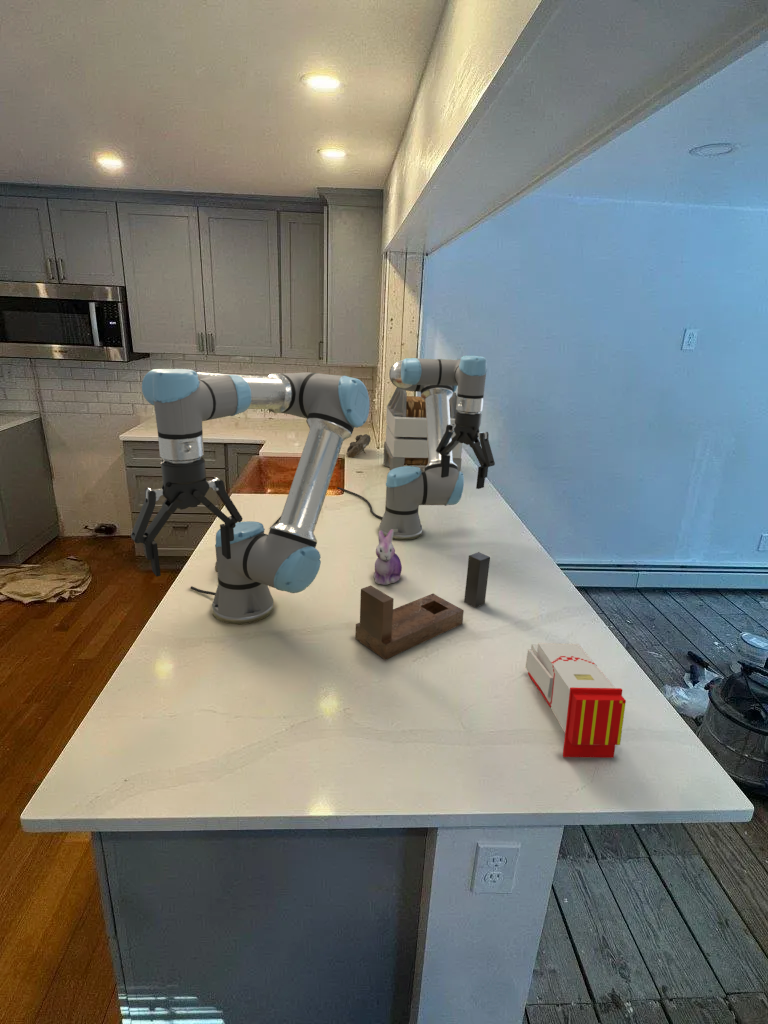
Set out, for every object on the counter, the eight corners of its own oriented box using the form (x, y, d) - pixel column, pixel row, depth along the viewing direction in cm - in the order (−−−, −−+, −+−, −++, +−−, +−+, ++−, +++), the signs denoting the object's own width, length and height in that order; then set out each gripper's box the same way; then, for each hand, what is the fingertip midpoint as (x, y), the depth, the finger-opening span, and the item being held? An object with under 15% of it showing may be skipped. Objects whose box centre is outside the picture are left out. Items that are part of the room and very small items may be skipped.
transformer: (382, 463, 289) (386, 382, 275) (445, 464, 293) (451, 384, 279) (390, 482, 257) (394, 392, 243) (460, 483, 261) (468, 394, 247)
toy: (573, 626, 127) (635, 696, 97) (567, 680, 129) (626, 765, 100) (519, 624, 126) (566, 695, 97) (515, 680, 129) (558, 764, 100)
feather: (289, 509, 222) (291, 505, 221) (271, 533, 195) (274, 529, 195) (285, 506, 222) (288, 503, 221) (267, 531, 195) (270, 526, 195)
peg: (464, 602, 155) (468, 555, 150) (473, 597, 158) (478, 551, 153) (475, 608, 152) (480, 560, 148) (484, 603, 155) (490, 556, 150)
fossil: (346, 440, 316) (367, 425, 311) (357, 453, 319) (378, 438, 314) (340, 453, 296) (362, 438, 291) (351, 468, 299) (374, 452, 294)
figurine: (380, 588, 160) (382, 539, 155) (365, 573, 168) (366, 527, 163) (409, 582, 164) (412, 535, 159) (392, 568, 173) (395, 522, 167)
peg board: (355, 638, 136) (356, 586, 131) (431, 606, 152) (435, 559, 147) (385, 660, 128) (387, 605, 123) (462, 624, 144) (467, 574, 139)
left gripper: (113, 473, 92) (129, 589, 99) (256, 454, 106) (261, 556, 114) (102, 462, 98) (118, 573, 105) (239, 445, 112) (245, 543, 119)
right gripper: (427, 406, 169) (423, 474, 176) (496, 420, 152) (487, 495, 159) (444, 403, 174) (439, 470, 181) (512, 417, 157) (503, 490, 164)
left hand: (192, 564), depth 109 cm, fingers open, 13 cm apart
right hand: (461, 482), depth 170 cm, fingers open, 13 cm apart
